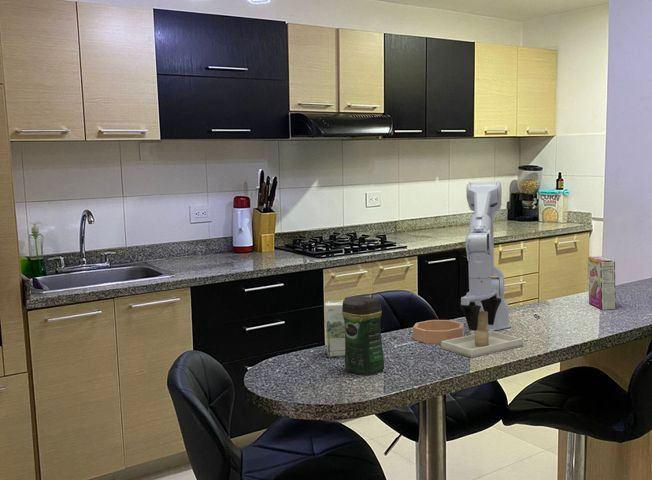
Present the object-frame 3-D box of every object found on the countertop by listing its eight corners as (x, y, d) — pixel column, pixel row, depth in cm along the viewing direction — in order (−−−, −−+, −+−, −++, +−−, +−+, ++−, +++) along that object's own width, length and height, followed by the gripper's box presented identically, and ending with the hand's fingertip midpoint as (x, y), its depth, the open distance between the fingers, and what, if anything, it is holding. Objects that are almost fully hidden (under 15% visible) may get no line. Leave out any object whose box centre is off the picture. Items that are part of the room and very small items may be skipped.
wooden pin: (479, 342, 177) (478, 310, 176) (491, 344, 174) (490, 311, 173) (472, 345, 174) (471, 312, 173) (483, 347, 172) (482, 314, 171)
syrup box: (347, 351, 178) (345, 299, 177) (349, 356, 172) (346, 303, 171) (327, 352, 178) (324, 300, 176) (327, 358, 172) (324, 304, 171)
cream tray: (491, 337, 184) (491, 330, 184) (523, 346, 173) (522, 338, 173) (441, 348, 175) (441, 341, 175) (471, 358, 165) (471, 350, 165)
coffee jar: (390, 370, 158) (386, 296, 156) (366, 378, 153) (362, 301, 151) (363, 363, 165) (360, 291, 164) (340, 370, 160) (336, 296, 159)
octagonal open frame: (442, 329, 197) (442, 317, 196) (473, 337, 184) (473, 325, 184) (405, 336, 190) (404, 325, 190) (434, 346, 178) (434, 333, 178)
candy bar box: (587, 304, 221) (586, 256, 220) (602, 303, 221) (601, 255, 220) (601, 310, 210) (600, 260, 209) (616, 309, 210) (616, 259, 208)
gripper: (483, 272, 180) (484, 320, 181) (450, 280, 171) (452, 330, 172) (505, 274, 175) (506, 323, 176) (473, 282, 165) (474, 334, 167)
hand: (481, 327), depth 174 cm, fingers open, 7 cm apart
